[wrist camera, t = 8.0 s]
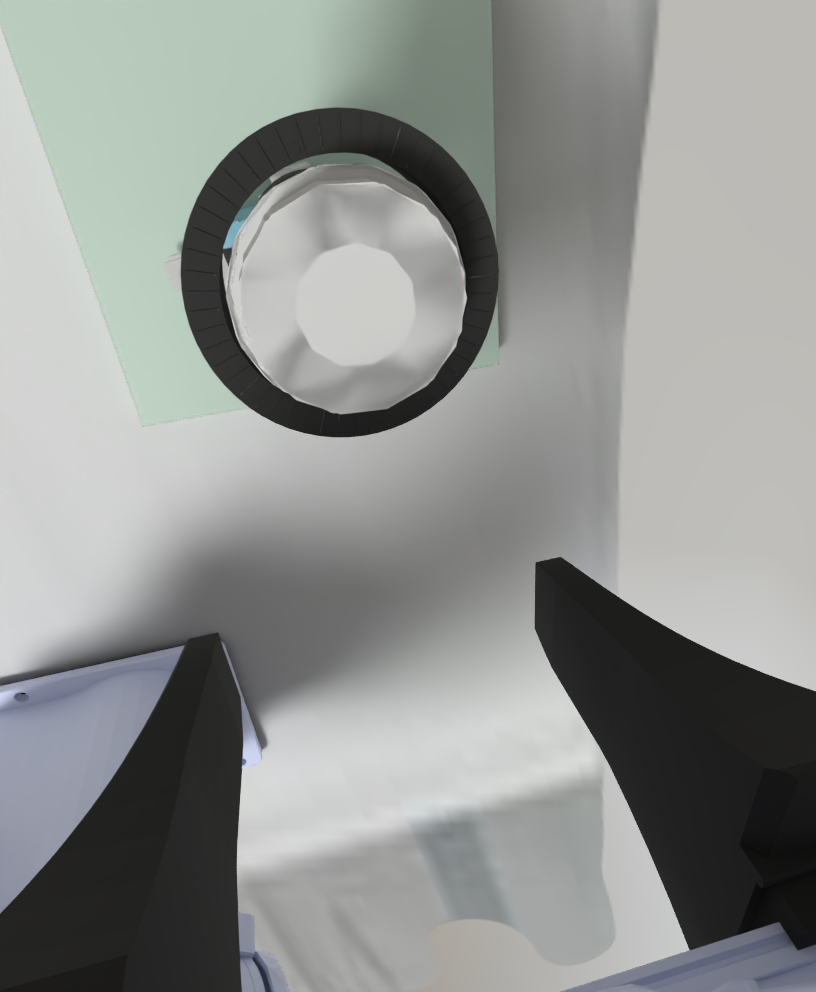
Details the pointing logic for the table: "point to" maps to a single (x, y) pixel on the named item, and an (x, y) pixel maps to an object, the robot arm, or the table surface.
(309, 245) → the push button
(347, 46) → the sage board
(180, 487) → the table surface
